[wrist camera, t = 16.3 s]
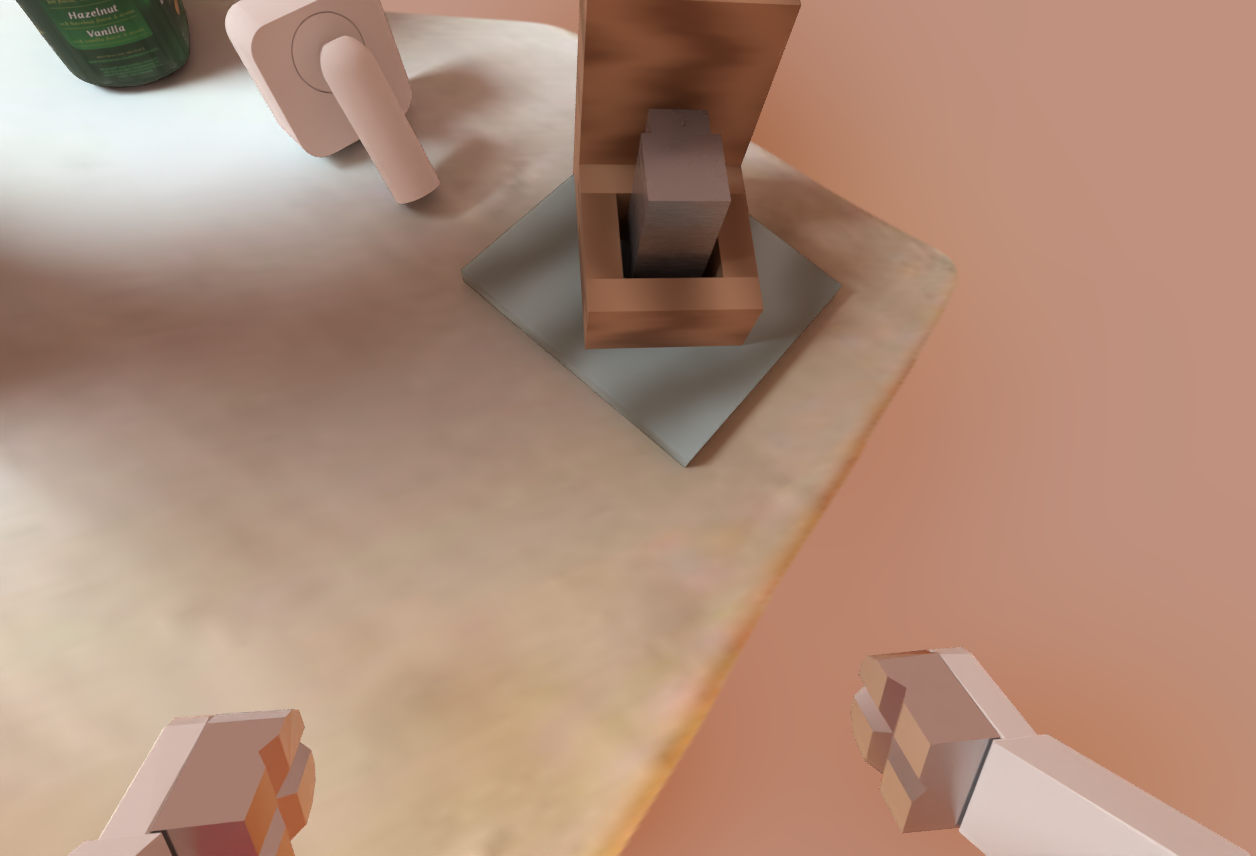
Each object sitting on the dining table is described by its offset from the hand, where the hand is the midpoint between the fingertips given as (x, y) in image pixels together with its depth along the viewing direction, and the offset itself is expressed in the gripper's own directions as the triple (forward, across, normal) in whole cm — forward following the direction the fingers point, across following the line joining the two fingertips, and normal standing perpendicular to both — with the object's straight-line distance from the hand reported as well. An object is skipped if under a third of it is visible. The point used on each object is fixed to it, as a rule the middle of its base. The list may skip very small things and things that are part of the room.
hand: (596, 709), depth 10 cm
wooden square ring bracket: (+35, -7, +3) cm, 35 cm away
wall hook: (+43, +11, -4) cm, 44 cm away
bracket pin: (+34, -7, +2) cm, 35 cm away
